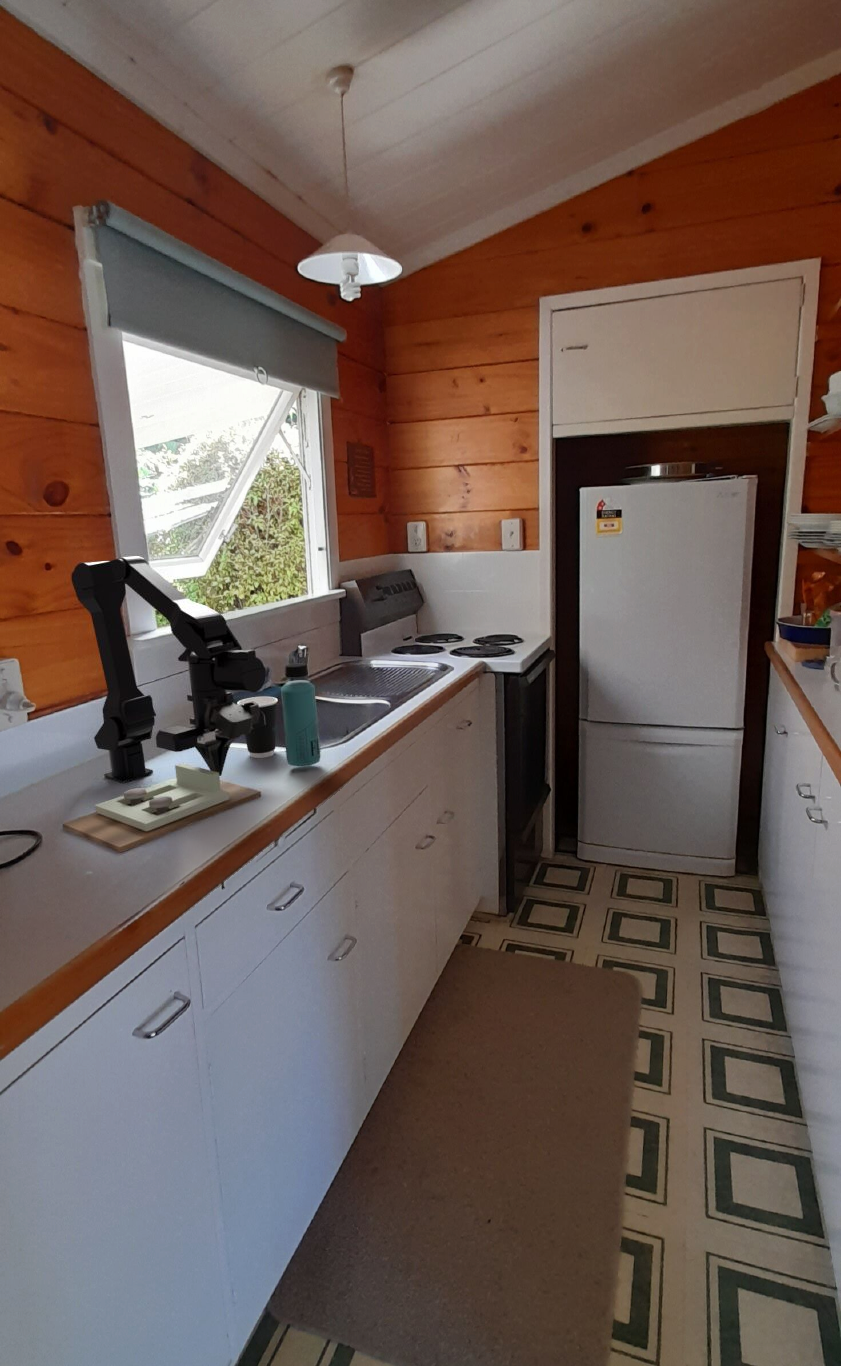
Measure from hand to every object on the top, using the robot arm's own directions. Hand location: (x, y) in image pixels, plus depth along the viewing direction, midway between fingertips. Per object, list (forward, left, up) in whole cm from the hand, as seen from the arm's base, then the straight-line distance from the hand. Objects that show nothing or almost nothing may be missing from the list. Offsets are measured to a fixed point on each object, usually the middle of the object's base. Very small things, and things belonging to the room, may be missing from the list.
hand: (217, 776), depth 127 cm
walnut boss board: (0, -11, -3) cm, 11 cm away
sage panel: (0, -11, -2) cm, 11 cm away
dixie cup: (-10, +18, -3) cm, 21 cm away
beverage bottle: (+4, +16, -3) cm, 17 cm away
